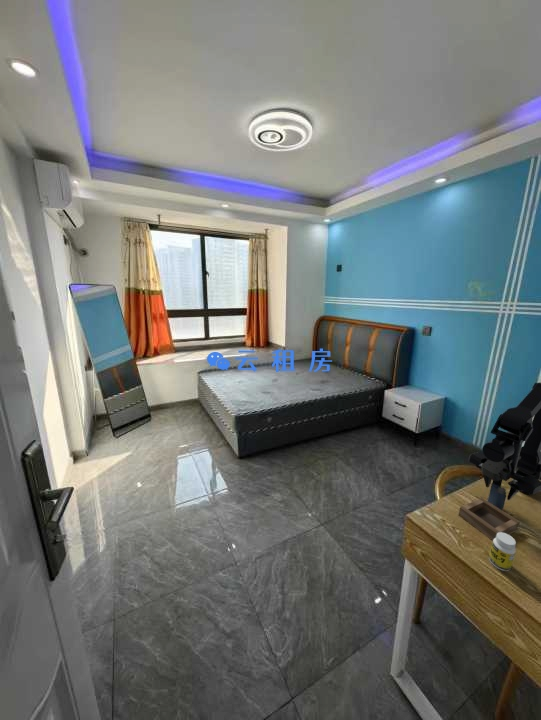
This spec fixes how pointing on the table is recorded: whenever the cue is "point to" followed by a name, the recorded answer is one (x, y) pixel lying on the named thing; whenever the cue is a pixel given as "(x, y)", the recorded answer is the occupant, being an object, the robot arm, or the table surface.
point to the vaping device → (497, 494)
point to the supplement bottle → (502, 551)
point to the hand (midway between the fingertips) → (497, 493)
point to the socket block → (488, 518)
